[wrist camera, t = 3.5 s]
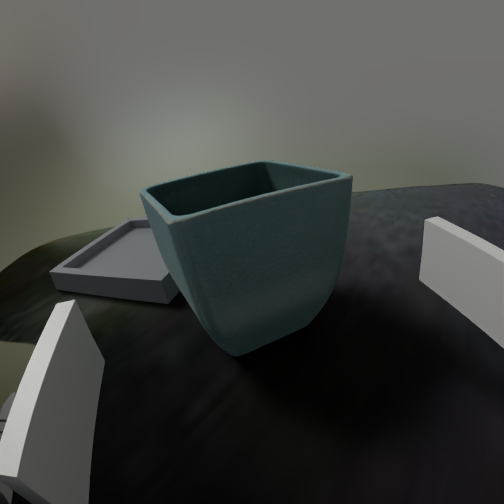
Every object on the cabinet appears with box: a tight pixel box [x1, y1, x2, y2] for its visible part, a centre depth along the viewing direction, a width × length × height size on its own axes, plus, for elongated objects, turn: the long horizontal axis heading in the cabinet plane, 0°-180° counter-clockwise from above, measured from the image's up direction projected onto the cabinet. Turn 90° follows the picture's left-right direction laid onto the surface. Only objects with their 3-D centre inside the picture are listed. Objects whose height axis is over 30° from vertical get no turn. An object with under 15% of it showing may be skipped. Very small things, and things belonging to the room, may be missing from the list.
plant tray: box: [50, 217, 180, 304], centre depth 31 cm, size 14×14×2 cm
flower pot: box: [139, 160, 353, 356], centre depth 18 cm, size 9×9×9 cm
